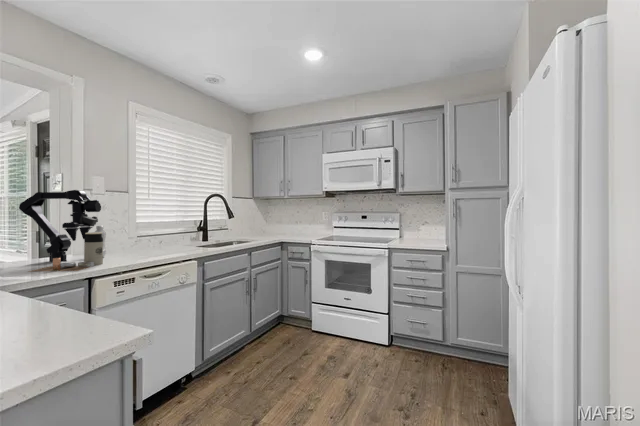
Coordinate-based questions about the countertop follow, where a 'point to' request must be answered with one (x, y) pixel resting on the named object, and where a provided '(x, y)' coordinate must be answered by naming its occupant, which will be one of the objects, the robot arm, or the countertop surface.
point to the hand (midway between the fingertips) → (79, 240)
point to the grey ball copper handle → (59, 266)
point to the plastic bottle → (100, 229)
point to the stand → (80, 267)
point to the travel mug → (93, 248)
